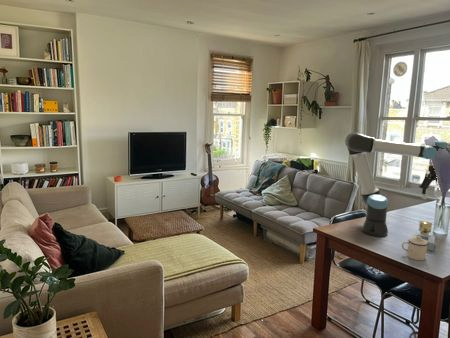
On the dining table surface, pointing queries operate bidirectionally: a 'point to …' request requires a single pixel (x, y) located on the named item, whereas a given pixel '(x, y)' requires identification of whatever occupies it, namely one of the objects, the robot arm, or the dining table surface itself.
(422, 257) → the teacup with lid
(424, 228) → the gold cylinder
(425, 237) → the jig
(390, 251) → the dining table surface
